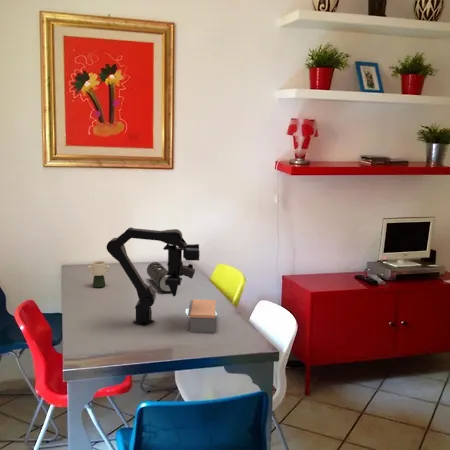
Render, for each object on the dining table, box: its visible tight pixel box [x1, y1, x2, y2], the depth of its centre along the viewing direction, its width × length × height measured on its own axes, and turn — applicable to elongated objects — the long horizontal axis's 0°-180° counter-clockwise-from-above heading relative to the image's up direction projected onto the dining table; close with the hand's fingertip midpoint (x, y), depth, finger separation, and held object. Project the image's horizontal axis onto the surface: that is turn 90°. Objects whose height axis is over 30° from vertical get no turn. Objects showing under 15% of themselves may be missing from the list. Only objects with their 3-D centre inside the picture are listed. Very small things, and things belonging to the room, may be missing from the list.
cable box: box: [189, 304, 217, 334], centre depth 228 cm, size 10×29×6 cm, turn 0°
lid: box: [187, 298, 217, 319], centre depth 223 cm, size 11×20×1 cm, turn 0°
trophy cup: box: [87, 260, 110, 288], centre depth 272 cm, size 11×7×13 cm, turn 102°
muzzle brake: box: [146, 261, 171, 292], centre depth 276 cm, size 10×28×10 cm, turn 21°
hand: (174, 296), depth 222 cm, fingers closed
